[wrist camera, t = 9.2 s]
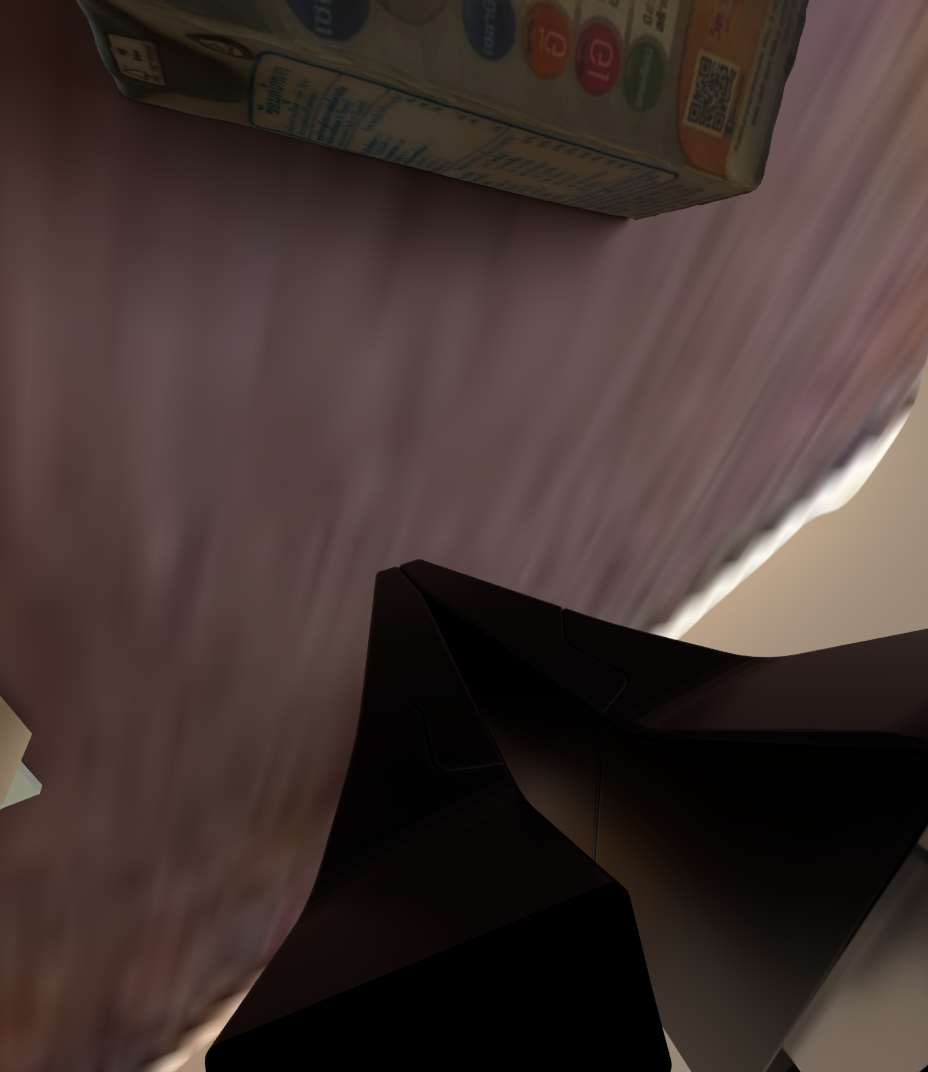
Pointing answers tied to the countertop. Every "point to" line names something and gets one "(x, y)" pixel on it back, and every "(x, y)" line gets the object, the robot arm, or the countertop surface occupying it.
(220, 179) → the countertop surface
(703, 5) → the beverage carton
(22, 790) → the mat
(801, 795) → the robot arm
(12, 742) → the beige bevelled block
